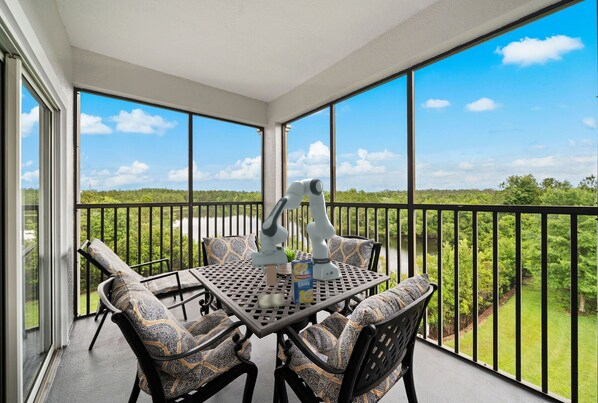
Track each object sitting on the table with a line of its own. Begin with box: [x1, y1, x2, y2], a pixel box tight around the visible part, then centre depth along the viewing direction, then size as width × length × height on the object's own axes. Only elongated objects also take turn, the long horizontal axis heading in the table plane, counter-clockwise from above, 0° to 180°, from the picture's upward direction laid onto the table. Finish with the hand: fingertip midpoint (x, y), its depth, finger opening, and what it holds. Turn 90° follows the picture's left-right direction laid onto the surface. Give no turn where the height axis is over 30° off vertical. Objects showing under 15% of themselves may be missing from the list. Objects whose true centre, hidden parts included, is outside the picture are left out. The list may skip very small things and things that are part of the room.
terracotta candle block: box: [264, 264, 278, 287], centre depth 143 cm, size 5×5×10 cm
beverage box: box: [290, 259, 314, 305], centre depth 144 cm, size 7×11×22 cm, turn 104°
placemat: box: [257, 292, 287, 310], centre depth 143 cm, size 14×14×1 cm
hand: (271, 272), depth 142 cm, fingers closed on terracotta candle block, 5 cm apart
